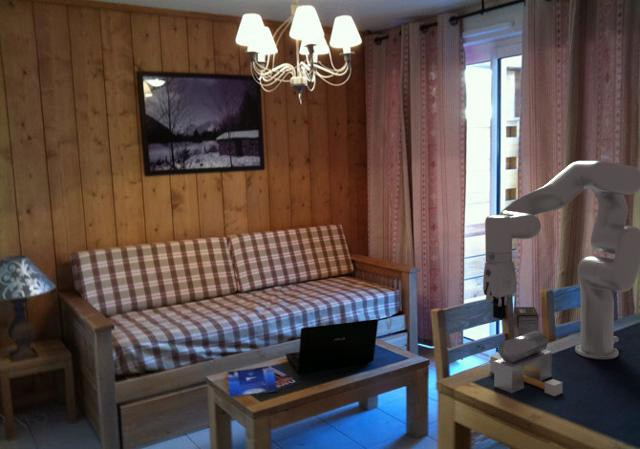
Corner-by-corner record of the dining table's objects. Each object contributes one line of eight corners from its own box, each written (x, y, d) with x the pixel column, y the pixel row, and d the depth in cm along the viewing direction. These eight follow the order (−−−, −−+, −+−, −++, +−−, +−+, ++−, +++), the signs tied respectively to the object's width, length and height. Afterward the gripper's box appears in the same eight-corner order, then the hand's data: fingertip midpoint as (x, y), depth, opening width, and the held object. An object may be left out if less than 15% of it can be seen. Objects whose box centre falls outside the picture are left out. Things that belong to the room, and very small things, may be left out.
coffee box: (513, 354, 185) (513, 306, 183) (534, 354, 183) (534, 306, 181) (517, 364, 176) (517, 314, 174) (539, 365, 175) (539, 314, 173)
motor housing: (533, 370, 171) (533, 327, 169) (551, 376, 166) (551, 331, 164) (494, 386, 161) (493, 340, 159) (511, 393, 156) (511, 346, 154)
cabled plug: (497, 366, 175) (496, 351, 174) (563, 392, 155) (563, 375, 154) (486, 370, 173) (486, 354, 172) (552, 396, 152) (552, 379, 152)
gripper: (492, 262, 158) (493, 326, 160) (525, 255, 167) (525, 315, 169) (471, 259, 164) (472, 320, 167) (504, 252, 173) (504, 310, 175)
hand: (499, 317), depth 168 cm, fingers closed
